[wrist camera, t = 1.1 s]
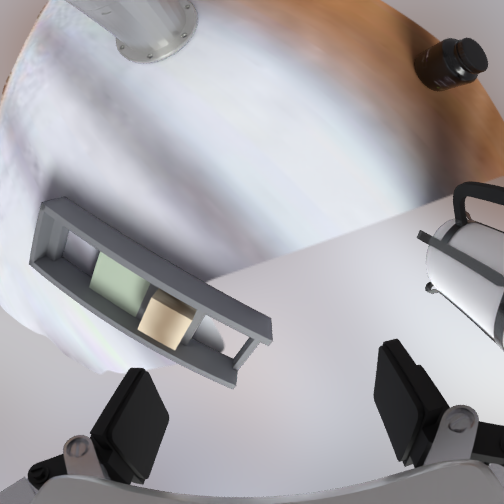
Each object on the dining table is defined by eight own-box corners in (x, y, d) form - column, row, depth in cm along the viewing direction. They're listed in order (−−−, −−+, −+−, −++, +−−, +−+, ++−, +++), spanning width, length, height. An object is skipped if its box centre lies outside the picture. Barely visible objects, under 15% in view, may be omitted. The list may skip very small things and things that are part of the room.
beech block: (146, 315, 39) (137, 329, 35) (161, 284, 38) (151, 297, 34) (181, 335, 40) (175, 350, 36) (198, 306, 38) (192, 320, 35)
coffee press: (488, 227, 36) (613, 291, 7) (447, 304, 40) (549, 410, 12) (430, 173, 34) (606, 213, 6) (383, 265, 39) (516, 404, 10)
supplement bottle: (409, 49, 28) (450, 22, 17) (442, 59, 28) (486, 39, 17) (416, 88, 30) (463, 70, 19) (449, 96, 30) (498, 84, 19)
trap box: (49, 252, 40) (28, 264, 34) (64, 196, 37) (41, 202, 31) (235, 365, 44) (232, 389, 39) (271, 318, 42) (272, 341, 36)
